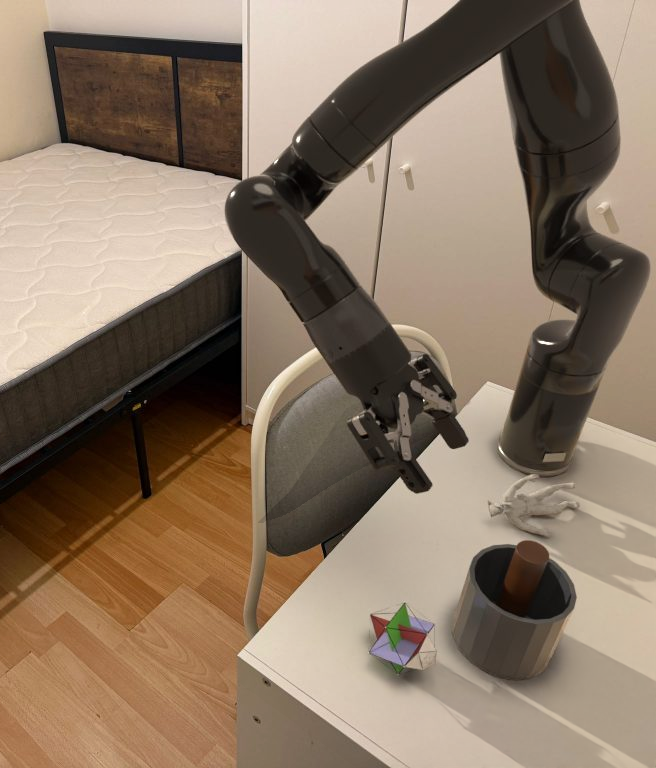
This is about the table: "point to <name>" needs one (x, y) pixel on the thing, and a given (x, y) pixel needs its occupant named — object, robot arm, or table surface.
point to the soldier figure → (529, 504)
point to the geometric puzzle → (404, 640)
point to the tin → (510, 617)
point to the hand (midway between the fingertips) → (443, 467)
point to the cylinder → (523, 577)
